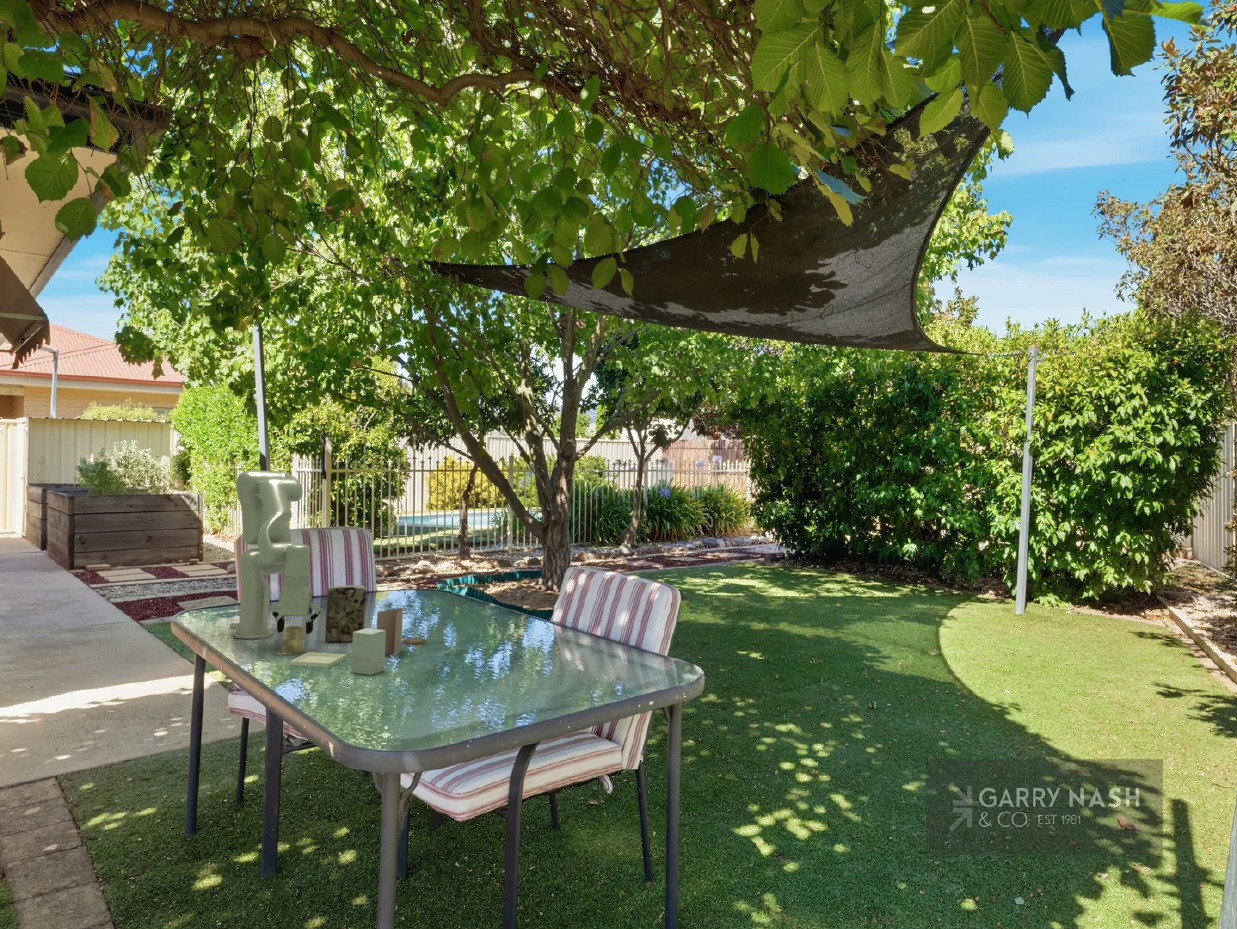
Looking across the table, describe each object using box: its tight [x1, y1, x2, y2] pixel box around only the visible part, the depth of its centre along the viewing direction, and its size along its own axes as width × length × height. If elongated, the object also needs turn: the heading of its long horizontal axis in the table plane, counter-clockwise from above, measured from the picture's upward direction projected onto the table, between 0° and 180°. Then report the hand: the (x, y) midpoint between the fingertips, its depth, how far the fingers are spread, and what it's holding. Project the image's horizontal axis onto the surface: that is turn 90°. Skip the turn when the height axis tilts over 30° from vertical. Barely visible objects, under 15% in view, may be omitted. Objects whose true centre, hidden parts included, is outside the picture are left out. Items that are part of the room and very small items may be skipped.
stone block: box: [324, 584, 367, 644], centre depth 284 cm, size 13×7×20 cm, turn 118°
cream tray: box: [289, 651, 347, 669], centre depth 253 cm, size 13×13×2 cm
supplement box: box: [350, 627, 386, 676], centre depth 244 cm, size 7×7×13 cm
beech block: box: [281, 625, 306, 654], centre depth 265 cm, size 5×5×8 cm
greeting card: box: [376, 607, 404, 659], centre depth 267 cm, size 11×7×15 cm, turn 149°
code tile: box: [266, 647, 318, 658], centre depth 265 cm, size 12×12×1 cm
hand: (294, 632), depth 264 cm, fingers open, 9 cm apart
